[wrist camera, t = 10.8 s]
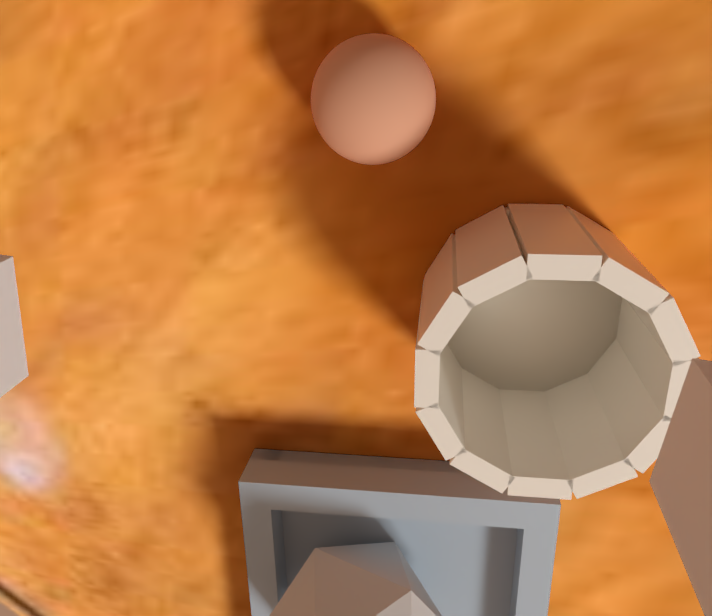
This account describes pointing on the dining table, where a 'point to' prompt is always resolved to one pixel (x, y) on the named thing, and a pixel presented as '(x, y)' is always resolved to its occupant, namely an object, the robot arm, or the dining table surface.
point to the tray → (398, 528)
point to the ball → (373, 99)
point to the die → (356, 584)
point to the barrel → (546, 354)
